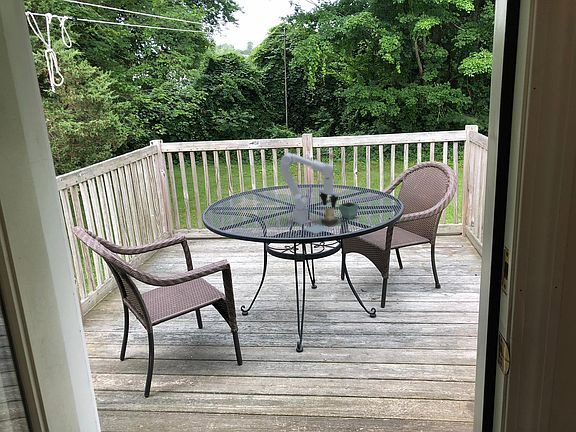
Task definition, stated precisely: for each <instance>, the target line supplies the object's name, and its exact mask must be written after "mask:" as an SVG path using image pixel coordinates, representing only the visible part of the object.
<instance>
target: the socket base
mask: <svg viewBox="0 0 576 432" xmlns="http://www.w3.org/2000/svg"><path fill="white" fill-rule="evenodd" d="M346 222H348V220H346V219H342V218H338V217H335V216H334V220H330V221H328V220H325V217H323V218H319V219H316V220H313V221H312V220H311V223H313V224H316V225H317V224H318V225H321V226H324V227H328V228H332V227H334V226H337V225H340V224H342V223H343V224H344V223H346Z"/></svg>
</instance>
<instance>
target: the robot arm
mask: <svg viewBox="0 0 576 432" xmlns="http://www.w3.org/2000/svg"><path fill="white" fill-rule="evenodd" d="M279 162H280V164H279V167H280V168H279V171H280V174H281V175H282V177H283V180H284V181H285V183H286V185H287V187H288V188H289V191H290V192H291V194H292V196H293V201H294V204H295V205H294V206H295V207H294V208H293V210H292V218H293V219H292V222H293V223H297V224H300V225H303V224H307V223H310V222H311V220H310V219H309V211H308V209H309V208H308V203H309V202H308V198H307V197H306V196H305V195H304V194H303V193H302V192H301V190H300V189H299V187H298V184H297V182H296V181H295V179H294V177H293V175H292V173H291V172H290V167H291V165H292V164H295V163H297V164H298V163H299V164H302V165H306V166H308V167H310V168H311V169H312V171H313V170H314V171H317V172H319V173H323V189H319V195H318V196H319V198H320V199H321V202H322V205H323V206H326V205H328V201H327V200H328V196H329V200H330V207H331V208H332V209H334V208H336V205H337V204H336V203H337V200H338V198H339V193H338V192H336V191H335V190H334V176H333V171H334V167H333V165H332V164H331V163H327V162H321V161H320V160H319V159H314V160H311V159H308V158H305V157H304V156H300V155H299V154H296V153H291V152H287V153H285V154H284V155H282V156H281V159H280V161H279Z"/></svg>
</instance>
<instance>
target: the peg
mask: <svg viewBox="0 0 576 432" xmlns="http://www.w3.org/2000/svg"><path fill="white" fill-rule="evenodd" d="M334 217H335V209H334V208H332V207H328V208H324V218H325V220H328V221H330V220H334Z"/></svg>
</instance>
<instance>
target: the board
mask: <svg viewBox="0 0 576 432" xmlns="http://www.w3.org/2000/svg"><path fill="white" fill-rule="evenodd" d="M331 229H332V227H327V226H323V225H320V224H317V223H316V224H314V225H311V226H307V227H305V228H302V231H305V232H308V233H310V234H314V235H318V234H319V233H322V232H325V231H327V230H331Z"/></svg>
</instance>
